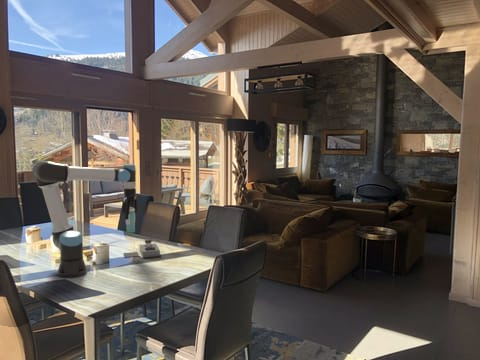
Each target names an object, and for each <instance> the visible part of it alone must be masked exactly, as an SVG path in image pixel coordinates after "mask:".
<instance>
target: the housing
mask: <svg viewBox="0 0 480 360" xmlns="http://www.w3.org/2000/svg"><path fill="white" fill-rule="evenodd" d="M139 253H140V255H141V257H142V258H143V259H145V258H153V257H161V250H160V248H159V246H158V245H157V243H151V246H148V247H145V243H144V244H139Z"/></svg>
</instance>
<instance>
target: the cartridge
mask: <svg viewBox="0 0 480 360" xmlns="http://www.w3.org/2000/svg"><path fill="white" fill-rule="evenodd" d="M129 214H130V224H126V233H128V234H129V233H130V234H131V233H135V232H136V229H135V228H136V226H135V225H136V224H135V223H136V212H135V209H134V208H133V207H131V206H130V210H129Z"/></svg>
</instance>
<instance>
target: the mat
mask: <svg viewBox="0 0 480 360" xmlns="http://www.w3.org/2000/svg"><path fill="white" fill-rule="evenodd" d="M122 255H123V257H124V259H125V258H136V257H139V256H140V255H139V253H138V251H133V252H124V253H123V254H122Z"/></svg>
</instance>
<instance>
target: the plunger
mask: <svg viewBox="0 0 480 360" xmlns="http://www.w3.org/2000/svg"><path fill="white" fill-rule="evenodd" d="M152 242H153V240H152V239H151V238H150V239H149V238H148V239H145V240H144V244H145V247H148V246H151V244H152Z"/></svg>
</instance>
